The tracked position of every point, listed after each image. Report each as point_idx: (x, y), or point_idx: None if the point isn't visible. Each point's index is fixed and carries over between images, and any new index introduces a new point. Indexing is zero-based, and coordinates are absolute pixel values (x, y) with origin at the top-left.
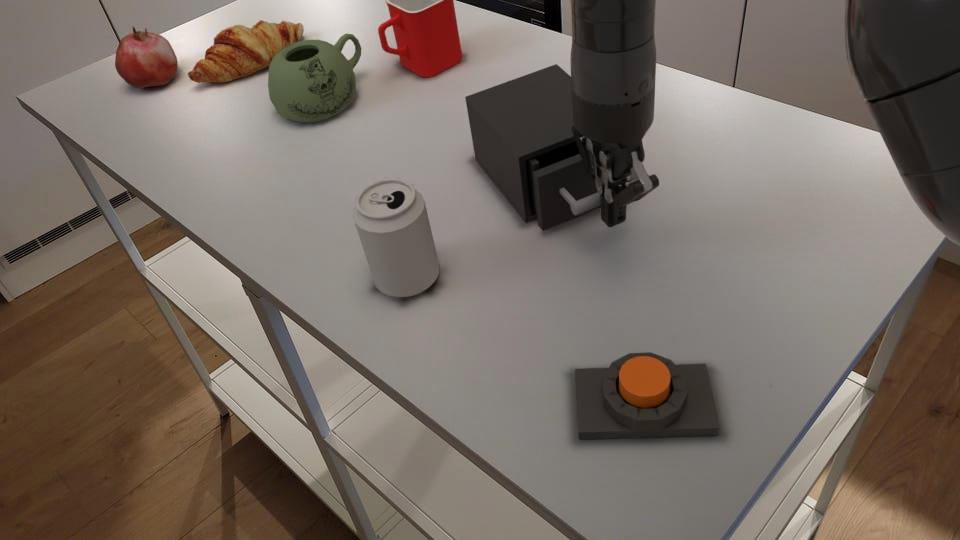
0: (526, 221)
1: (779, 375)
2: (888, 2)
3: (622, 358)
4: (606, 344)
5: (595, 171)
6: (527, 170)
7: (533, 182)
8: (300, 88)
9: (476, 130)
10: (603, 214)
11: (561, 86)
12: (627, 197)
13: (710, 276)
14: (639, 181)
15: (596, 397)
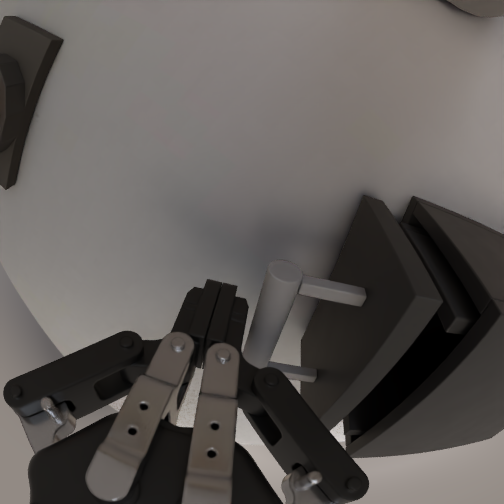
0: (413, 198)
1: (3, 233)
2: None
3: (3, 104)
4: (78, 105)
5: (200, 413)
6: (466, 291)
7: (438, 274)
8: None
9: None
10: (219, 298)
11: (473, 435)
12: (57, 368)
13: (115, 291)
14: (18, 414)
15: (15, 50)
